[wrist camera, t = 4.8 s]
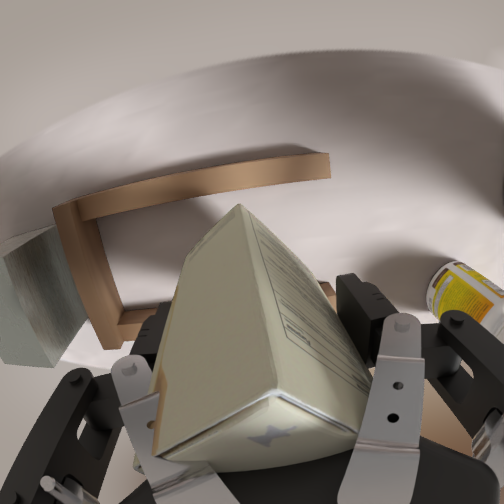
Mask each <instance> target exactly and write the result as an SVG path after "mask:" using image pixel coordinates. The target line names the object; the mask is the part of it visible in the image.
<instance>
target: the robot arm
mask: <svg viewBox="0 0 504 504" xmlns="http://www.w3.org/2000/svg"><path fill="white" fill-rule="evenodd" d="M171 304H172V301H171V302H163V303H160V304H159V306H158V309H157V311H156V313H155V315H150V316H149V317H148V318H147V319H146V320H145V321H144V322H143V324H142V326H141V328H140V331H139V333H138V335H137V337H136V340H135V342H134V344H133V347H132V349H131V352H130V354H129V355H128V356H125V357H123V358H121V359H119V360H118V361H116V362H115V363H114V365H113V366H112V368H111V373H109V374H105V375H101V376H97V377H93V375H92V373H91V372H90V370H88V369H86V368H77V369H74V370H72V371H70V372H68V373H67V374H66V375H65V376H64V377H63V378H62V380H61V381H60V383H59V385H58V386H57V388H56V389H55V391H54V393H53V394H52V396H51V398H50V399H49V401H48V402H47V404H46V406H45V407H44V409H43V411H42V412H41V414H40V416H39V418H38V419H37V421H36V423H35V424H34V426H33V428H32V430H31V431H30V433H29V435H28V437H27V439H26V441H25V442H24V444H23V446H22V448H21V450H20V452H19V454H18V456H17V458H16V460H15V462H14V464H13V466H12V467H11V470H10V472H9V474H8V476H7V478H6V480H5V482H4V484H3V486H2V489H1V491H0V504H100V502H99V501H98V496H99V492H100V490H101V486H102V483H103V480H104V477H105V474H106V471H107V468H108V465H109V462H110V459H111V456H112V454H113V451H114V448H115V445H116V442H117V440H118V437H119V434H120V432H121V429H122V427H123V426H125V428H126V430H127V433H128V435H129V438H130V441H131V443H132V446H133V448H134V450H135V453H136V455H137V458H138V460H139V462H140V464H141V467H142V469H143V471H144V473H145V475H146V477H147V479H146V480H145V481H144V482H143V483H142V484H141V485H140V486H139V487H138V488H136V489H135V490H134V491H133V492H132V493H131V494H130V495H129V496H127V497H126V498H125V499H124V500H123V501H122V502H120V503H119V504H499V501H500V488H502V487H503V486H504V344H503V343H502V342H501V341H499V340H498V339H497V338H496V337H495V336H494V335H492V334H491V333H490V332H489V331H488V330H487V329H485V328H484V327H483V326H482V325H481V324H479V323H478V322H477V321H476V320H475V319H473V318H472V317H471V316H470V315H468V314H467V313H465V312H463V311H460V310H448V311H446V312H444V313H442V315H441V316H440V321H439V323H434V324H421V323H420V321H419V320H418V319H417V318H416V317H415V316H413V315H411V314H407V313H399V312H398V311H397V309H396V308H395V307H394V306H393V305H392V304H391V303H390V301H389V300H388V299H387V298H386V297H385V296H384V295H383V294H381V291H380V290H379V289H378V288H377V287H376V286H375V285H373V284H371V283H369V282H361V280H360V279H359V278H358V277H357V276H356V275H355V274H354V273H350V274H345V275H339V276H337V278H336V310H337V315H338V317H339V319H340V320H341V322H342V324H343V326H344V327H345V329H346V331H347V333H348V334H349V336H350V338H351V340H352V342H353V343H354V345H355V347H356V349H357V351H358V352H359V354H360V356H361V358H362V360H363V361H364V363H365V365H366V366H367V368H368V369H369V368H372V367H375V372H374V376H373V381H372V385H371V390H370V394H369V398H368V402H367V406H366V410H365V414H364V417H363V421H362V425H361V428H360V432H359V435H358V438H357V441H356V444H355V447H354V448H353V449H350V450H347V451H344V452H341V453H338V454H334V455H331V456H327V457H323V458H320V459H316V460H312V461H307V462H302V463H297V464H292V465H287V466H280V467H274V468H266V469H258V470H249V471H238V472H221V473H216V472H215V471H214V470H213V468H212V467H211V466H210V465H209V463H208V462H207V461H206V460H202V461H173V460H167V459H164V458H162V456H160V455H158V456H155V457H153V456H152V455H151V454H152V445H153V437H154V429H155V428H154V429H149V428H150V426H151V424H152V423H153V422H154V421H156V414H157V408H158V401H159V395H160V392H159V391H155V392H153V393H151V394H148V390H149V386H150V382H151V377H152V373H153V369H154V365H155V361H156V357H157V353H158V350H159V345H160V342H161V339H162V335H163V331H164V328H165V324H166V321H167V317H168V314H169V311H170V307H171ZM462 360H464V362H465V363H466V364H467V365H468V366H469V367H470V368H471V369H472V371H473V375H474V379H473V378H472V377H471V376H470V375H469V374H468V373H467V372H466V371H465V369H464V368H463V367H462V366H461V365H460V363H461V361H462ZM424 379H427V380H428V381H429V382H430V384H431V385H432V386H433V387H434V388H435V390H436V391H437V393H438V394H439V395H440V396H441V398H442V399H443V400H444V402H445V403H446V404H447V405H448V407H449V408H450V409H451V411H452V412H453V413H454V415H455V416H456V417H457V419H458V420H459V421H460V423H461V424H462V425H463V427H464V428H465V429H466V431H467V432H468V434H469V435H470V436H471V438H472V439H473V442H472V451H473V457H470V456H467V455H465V454H462V453H459V452H457V451H455V450H452V449H450V448H447V447H445V446H443V445H440V444H438V443H436V442H433V441H431V440H429V439H427V438H424V437H422V436H420V430H421V421H422V410H423V396H424ZM83 418H84V420H85V421H86V422H87V423H86V425H85V427H84V429H83V431H82V434H81V436H80V438H79V440H78V439H77V430H78V427H79V425H80V423H81V421H82V419H83Z"/></svg>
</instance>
